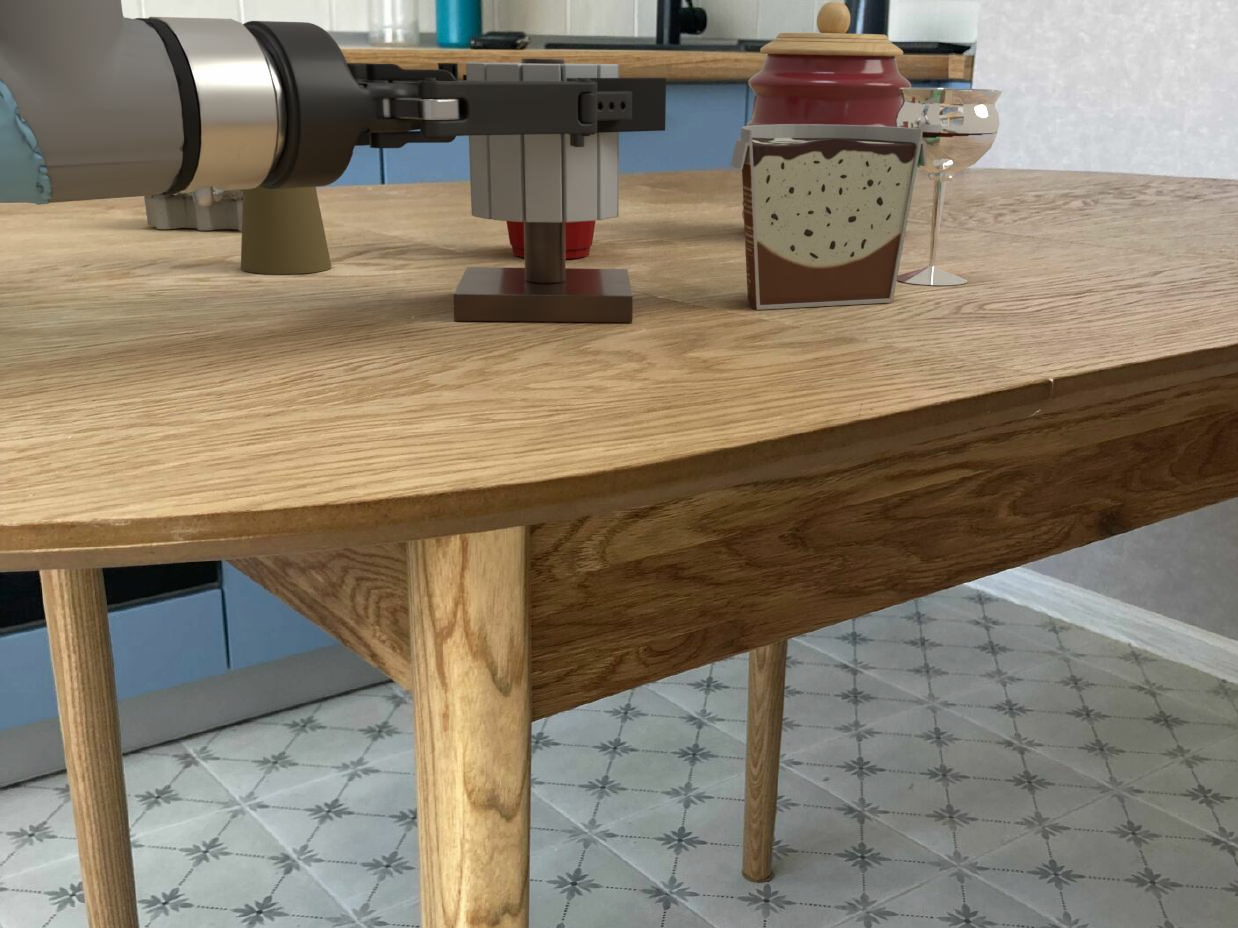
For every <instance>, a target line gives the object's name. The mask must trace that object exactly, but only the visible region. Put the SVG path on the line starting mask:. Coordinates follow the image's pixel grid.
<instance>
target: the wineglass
mask: <svg viewBox="0 0 1238 928" xmlns="http://www.w3.org/2000/svg"><path fill="white" fill-rule="evenodd" d="M898 89H899V91H900V93H901V96H902V99H903V101H902V105H901V107H900V108H899V110H898V111H897V114H896V118H895V121H894V123H895V127H902V128H915V129H923V133H922V141H925V144H926V159H927V166H918V165H917V168H920V169H921V170H922V171H925V173H928V175H927V176H928V178H929V180H930V181H933V182H934V183H933V197H932V198H933V199H932V212H931V213H932V215H931V229H930V243H929V244H930V246H929V261H928V266H926V267H922V268H918V269H916V270H915V269H914V270H912V271H908V272H905V273H901V274H898V276H897V282H902V283H907V284H914V285H924V286H956V285H957V286H959V285H964V284H967V283H968V280H967V279H965V278H963V277H961V276H959V275H956V274H954V273H951V272H948V271H946V270H945V269H941V268H938V267H937V266H935V265H936V258H937V251H938V245H939V238H940V237H939V236H940V231H941V223H942V216H943V209H944V204H945V203H944V202H945V196H946V195H945V194H946V189H947V188H946V187H947V183H948V182H950V181H951V182H952V180H953V179H954V178H955V174H957V173H959V172H961V171H963V170H965V169H967V168H969V167H971V166H973V165H975V164H976V163H978V162H979V161H980V160H981V158H982V157H984V156H985V155H986V153H988V152H989V151H990V150H991V149H992V147H993V145H994V142H995V140H996V139H997V135H998V131H999V127H1000V115H999V112H998V110H997V107H996V103H997V102H998V100H999V98H1000V96H1002V95H1001V94H1002V92H1003V90H1001V89H989V88H988V89H987V88H962V87H961V88H960V87H955V88H954V87H911V88H898Z"/></svg>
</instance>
